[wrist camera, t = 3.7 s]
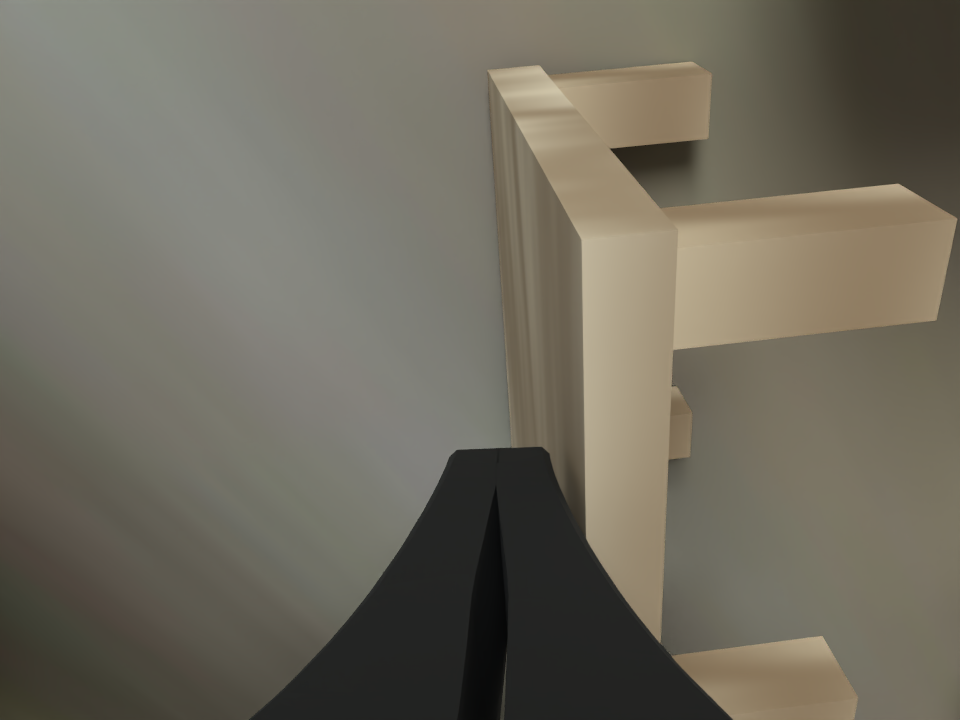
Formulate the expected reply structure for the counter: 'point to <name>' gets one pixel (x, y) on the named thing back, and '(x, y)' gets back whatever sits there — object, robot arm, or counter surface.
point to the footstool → (672, 321)
